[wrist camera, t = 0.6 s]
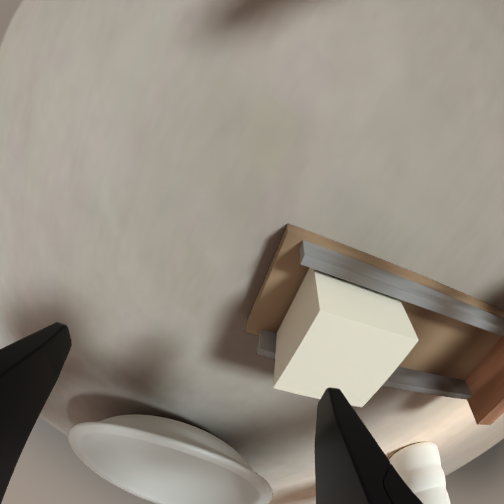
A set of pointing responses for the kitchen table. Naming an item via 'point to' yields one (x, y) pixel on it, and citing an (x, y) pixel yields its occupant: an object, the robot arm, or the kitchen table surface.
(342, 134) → the kitchen table surface
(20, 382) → the robot arm
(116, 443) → the soup bowl
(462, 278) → the kitchen table surface
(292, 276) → the track
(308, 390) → the block
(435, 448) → the water bottle
